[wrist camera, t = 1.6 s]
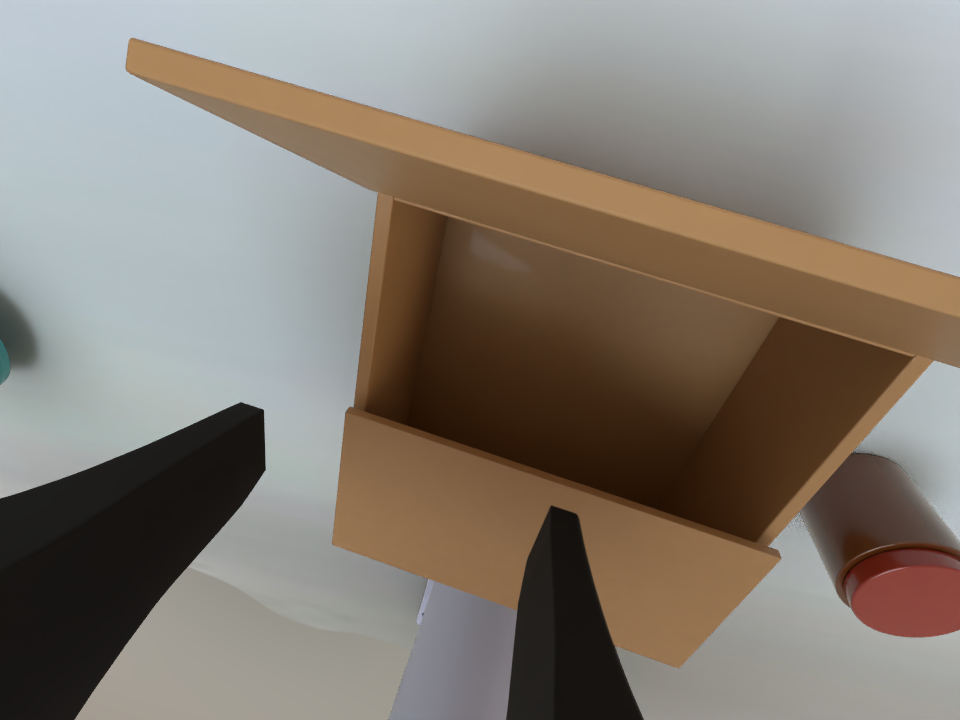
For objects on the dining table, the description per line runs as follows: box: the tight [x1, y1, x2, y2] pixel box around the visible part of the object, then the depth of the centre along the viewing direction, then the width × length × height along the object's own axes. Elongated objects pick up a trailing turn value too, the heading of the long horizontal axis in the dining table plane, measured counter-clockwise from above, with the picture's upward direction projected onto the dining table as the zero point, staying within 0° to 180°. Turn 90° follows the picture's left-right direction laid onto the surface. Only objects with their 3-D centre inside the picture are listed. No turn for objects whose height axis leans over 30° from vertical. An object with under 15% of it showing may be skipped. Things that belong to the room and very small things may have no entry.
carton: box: [332, 192, 934, 668], centre depth 16 cm, size 13×13×7 cm
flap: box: [126, 38, 960, 368], centre depth 7 cm, size 6×13×1 cm
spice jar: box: [799, 454, 960, 637], centre depth 17 cm, size 4×4×5 cm
